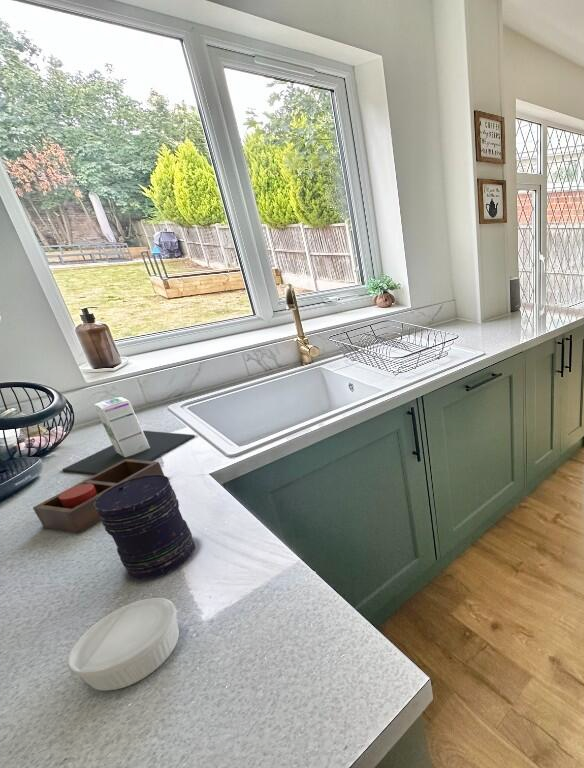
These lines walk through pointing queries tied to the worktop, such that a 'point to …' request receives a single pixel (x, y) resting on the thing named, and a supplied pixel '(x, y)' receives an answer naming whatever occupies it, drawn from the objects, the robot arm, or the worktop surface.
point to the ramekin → (126, 644)
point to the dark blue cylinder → (146, 526)
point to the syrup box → (122, 426)
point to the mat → (109, 457)
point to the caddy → (86, 513)
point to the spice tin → (77, 495)
